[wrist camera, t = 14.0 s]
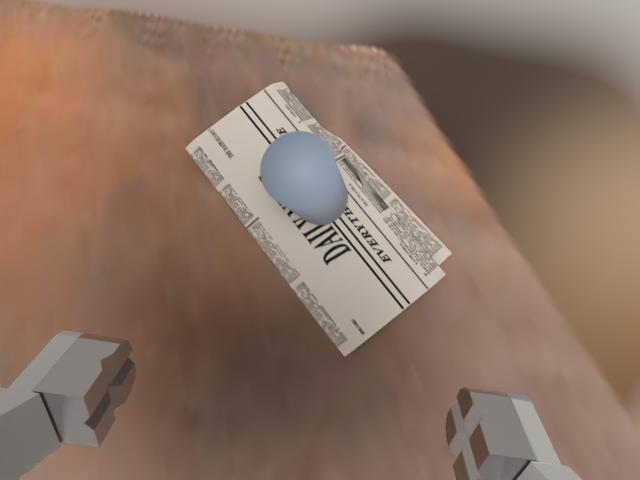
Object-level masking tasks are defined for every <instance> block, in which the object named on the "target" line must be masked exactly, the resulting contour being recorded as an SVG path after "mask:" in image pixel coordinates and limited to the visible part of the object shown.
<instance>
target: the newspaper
mask: <svg viewBox="0 0 640 480" xmlns="http://www.w3.org/2000/svg"><path fill="white" fill-rule="evenodd" d="M294 131H305V132H310V133H313V134H315V135H317V136H319V137H320V138H322V139H323V140H324V141H325V142H326V143H327V144H328V145H329V147H330V148H331V150H332V152H333V155H334V157H335V160H336V162H337V165H338V167H339V170H340V173H341V175H342V178H343V180H344V183H345V186H346V188H347V192H348V203H347V206H346V209H345V211H344V212H343V214H342V215H341V216H340V217H339V218H338V219H337V220H335V221H334V222H332V223H329V224H325V225H316V224H312V223H309V222H307V221H306V220H304V219H303V218H301V217H300V216H298V215H297V214H295V213H294V212H292V211H291V210H289V209H288V208H286V207H285V206H283V205H282V204H280V203H279V202H277V201H276V200H274V199H273V198H272V197H271V196H270V195H269V194H268V193H267V191H266V190H265V188H264V186H263V183H262V180H261V175H260V167H261V161H262V158H263V155H264V153H265V151H266V150H267V148H268V147H269V145H270V144H271V143H272V142H273V141H274V140H276V139H277V138H278V137H280V136H282V135H284V134H286V133H289V132H294ZM186 150H187V151H188V153H189V154H190V155H191V157H192V158H193V159H194V160H195V162H196V163H197V164H198V166H199V167H200V168H201V170H202V171H203V172H204V174H205V175H206V176H207V178H208V179H209V180H210V181H211V183H212V184H213V185H214V187H215V188H216V189H217V191H218V192H219V193H220V195H221V196H222V197H223V199H224V200H225V201H226V203H227V204H228V205H229V206H230V208H231V209H232V210H233V212H234V213H235V214H236V216H237V217H238V218H239V220H240V221H241V222H242V224H243V225H244V226H245V228H246V229H247V230H248V231H249V233H250V234H251V235H252V237H253V238H254V239H255V241H256V242H257V243H258V245H259V246H260V247H261V249H262V250H263V251H264V252H265V254H266V255H267V256H268V258H269V259H270V260H271V262H272V263H273V264H274V266H275V267H276V268H277V270H278V271H279V272H280V274H281V275H282V276H283V277H284V279H285V280H286V281H287V283H288V284H289V285H290V287H291V288H292V289H293V291H294V292H295V293H296V295H297V296H298V297H299V298H300V300H301V301H302V302H303V304H304V305H305V306H306V308H307V309H308V310H309V312H310V313H311V314H312V316H313V317H314V318H315V320H316V321H317V322H318V323H319V325H320V326H321V327H322V329H323V330H324V331H325V333H326V334H327V335H328V337H329V338H330V339H331V340H332V342H333V343H334V344H335V345H336V347H337V348H338V349H339V350H340V352H341V353H342V354H343V355H344V357H345V356H347V355H348V354H349V353H351V352H352V351H353V350H355V349H356V348H357V347H358V346H360V345H361V344H362V343H363V342H365V341H366V340H367V339H368V338H370V337H371V336H372V335H373V334H375V333H376V332H377V331H378V330H380V329H381V328H382V327H383V326H385V325H386V324H387V323H388V322H390V321H391V320H392V319H393V318H395V317H396V316H397V315H398V314H399V313H401V312H402V311H403V310H404V309H406V308H407V307H408V306H409V305H410V304H412V303H413V302H414V301H415V300H416V299H418V298H419V297H420V296H421V295H423V294H424V293H425V292H426V291H427V290H429V289H430V288H431V287H432V286H433V285H435V284H436V283H437V282H438V281H439V280H440V279H441V278H442V277H444V276H445V275H446V274H445V273H444V272H443V271H442V269H441V268H440V267H439V266H438V265H440V264H441V263H442V262H443V261H444V260H445V259H446V258H447V257H448V256H450V255H451V254H452V253H451V251H450V250H449V249H448V248H447V247H446V246H445V245H444V244H443V243H442V242H441V241H440V240H439V239H438V238H437V237H436V236H435V235H434V234H433V233H432V232H431V231H430V230H429V229H428V228H427V227H426V225H425V224H424V223H423V222H422V221H421V220H420V219H419V218H418V217H417V216H416V215H415V214H414V213H413V212H412V211H411V210H410V209H409V208H408V207H407V206H406V205H405V204H404V203H403V202H402V201H401V199H400V198H399V197H398V196H397V195H396V194H395V193H394V192H393V191H392V190H391V189H390V188H389V187H388V186H387V185H386V184H385V183H384V182H383V181H382V180H381V179H380V178H379V177H378V176H377V174H376V173H375V172H374V171H373V170H372V169H371V168H370V167H369V166H368V165H367V164H366V163H365V162H364V161H363V160H362V159H361V158H360V157H359V156H358V155H357V154H356V153H355V152H354V151H353V150H352V149H351V148H350V147H349V146H348V145H347V144H346V143H345V142H344V141H343V140H341V139H340V138H339V137H336V136H334V135H333V134H331V133H329V132H328V131H326V130H325V129H323V128H322V127H321V126H320V125H319V123H318V122H317V121H316V120H315V119H314V118H313V116H312V115H311V114H310V113H309V112H308V110H307V109H306V108H305V107H304V106H303V105H302V103H301V102H300V101H299V100H298V99H297V97H296V96H295V95H294V94H293V93H292V92H291V90H290V89H289V88H288V87H287V86H286V84H285V83H284V82H278V83H273V84H271V85H269V86H268V87H266V88H265V89H263V90H262V91H260V92H259V93H258V94H256V95H255V96H253V97H252V98H250V99H249V100H247V101H246V102H244V103H243V104H241V105H240V106H238V107H237V108H236V109H234V110H233V111H231V112H230V113H229V114H227V115H226V116H225V117H223V118H222V119H221V120H219V121H218V122H217V123H215V124H214V125H213V126H211V127H210V128H209V129H207V130H206V131H205V132H203V133H202V134H201V135H199V136H198V137H197V138H195V139H194V140H193V141H192V142H191V143H190V144H189V145H188V146H187V147H186Z"/></svg>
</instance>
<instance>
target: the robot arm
mask: <svg viewBox="0 0 640 480" xmlns="http://www.w3.org/2000/svg"><path fill="white" fill-rule="evenodd" d="M131 351H132V348H131V344H130V341H127V340H122V339H116V338H110V337H104V336H98V335H92V334H86V333H79V332H73V331H66V330H63V331H61V332H60V333H58V334H56V335H55V336H54V337H53V338H52V339H51V341H50V342H49V343H48V344H47V345H46V346H45V347H44V348H43V349H42V351H41V352H40V353H39V354H38V355H37V356H36V357H35V358H34V359H33V360H32V362H31V363H30V364H29V365H28V366H27V367H26V368H25V369H24V370H23V372H22V373H21V374H20V375H19V376H18V377H17V378H16V379H15V380H14V382H13V383H12V384H11V385H10V386H9V387H8V388H0V480H18V479H19V478H21V477H22V476H23V475H24V474H26V473H27V472H28V471H29V470H31V469H32V468H33V467H34V466H36V465H37V464H38V463H40V462H41V461H42V460H43V459H45V458H46V457H47V456H48V455H50V454H51V453H52V452H53V451H55V450H56V449H57V448H59V447H60V446H61V444H60V443H64V444H74V445H83V446H92V447H100V445H101V443H102V442H103V440H104V438H105V436H106V435H107V433H108V431H109V429H110V428H111V426H112V424H113V422H114V421H115V416H114V409H116V408H117V407H119V406H120V405H121V404H123V403H124V402H125V401H126V399H127V397H128V396H129V394H130V392H131V389H132V386H133V383H134V380H135V372H136V369H135V363H134V362H133V361H132V360H131V359H130V358H129V357H128V356H129V355H130V353H131ZM457 400H458V404H456V405H454V406H452V407H451V408H450V410H449V412H448V414H447V418H446V438H447V442H448V447H449V448H450V449H451V451H452V452H453V453H454V454H455V455H456V457H457V459H456V461H455V463H454V465H453V468H454V472H455V477H456V480H582V479H581V478H580V477H579V476H578V475H577V474H576V473H575V472H574V471H573V470H572V469H571V468H569V467H568V466H564V465H561V463H560V461H559V459H558V456H557V454H556V452H555V450H554V448H553V446H552V444H551V442H550V440H549V438H548V436H547V434H546V431H545V429H544V427H543V425H542V423H541V421H540V419H539V417H538V415H537V413H536V411H535V408H534V406H533V404H532V402H531V400H530V399H529V398H528V397H527V396H523V395H516V394H509V393H503V392H497V391H489V390H482V389H474V388H466V387H464V388H462V389H461V390H460V391H459V393H458V395H457Z"/></svg>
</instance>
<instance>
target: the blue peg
mask: <svg viewBox="0 0 640 480" xmlns="http://www.w3.org/2000/svg"><path fill="white" fill-rule="evenodd" d="M260 175H261V180H262V183H263V186H264V188H265V190H266V191H267V193H268V194H269V195H270V196H271V197H272V198H273V199H274V200H276V201H277V202H279V203H280V204H282V205H283V206H285V207H286V208H288V209H289V210H291V211H292V212H294V213H295V214H297V215H298V216H300V217H301V218H303V219H304V220H306V221H307V222H309V223H312V224H316V225H325V224H329V223H332V222H334V221H335V220H337V219H338V218H339V217H340V216H341V215H342V214H343V212H344V211H345V209H346V206H347V203H348V192H347V188H346V186H345V183H344V180H343V178H342V175H341V173H340V170H339V167H338V165H337V162H336V160H335V157H334V155H333V152H332V150H331V148H330V147H329V145H328V144H327V143H326V142H325V141H324V140H323V139H322V138H320V137H319V136H317V135H315V134H313V133H310V132H305V131H294V132H289V133H286V134H284V135H282V136H280V137H278V138H277V139H276V140H274V141H273V142H272V143H271V144H270V145H269V147H268V148H267V150H266V151H265V153H264V155H263V158H262V161H261V167H260Z"/></svg>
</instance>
